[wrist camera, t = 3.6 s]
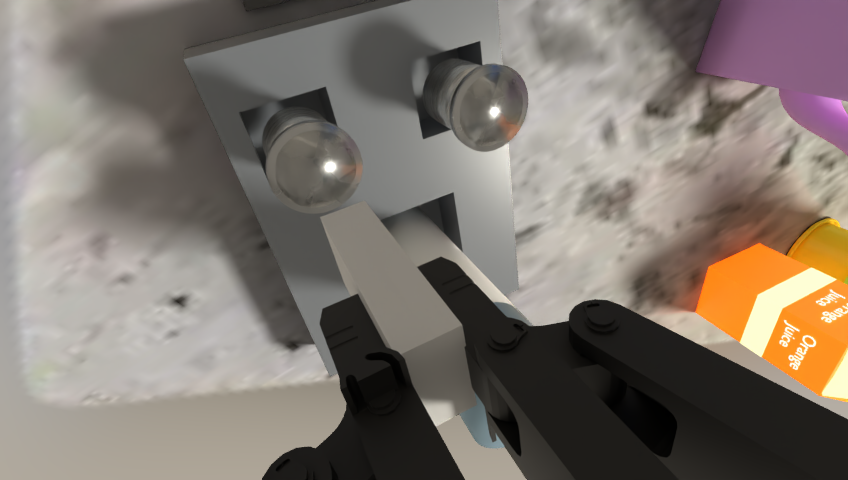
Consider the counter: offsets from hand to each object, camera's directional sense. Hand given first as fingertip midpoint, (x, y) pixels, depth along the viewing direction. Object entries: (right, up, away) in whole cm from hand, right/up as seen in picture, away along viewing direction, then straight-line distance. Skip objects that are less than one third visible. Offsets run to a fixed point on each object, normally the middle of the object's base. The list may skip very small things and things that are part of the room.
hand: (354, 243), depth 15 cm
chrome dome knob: (-4, +5, +8) cm, 11 cm away
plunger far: (+4, +9, +11) cm, 14 cm away
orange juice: (+41, -5, +42) cm, 59 cm away
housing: (-1, +4, +16) cm, 16 cm away
